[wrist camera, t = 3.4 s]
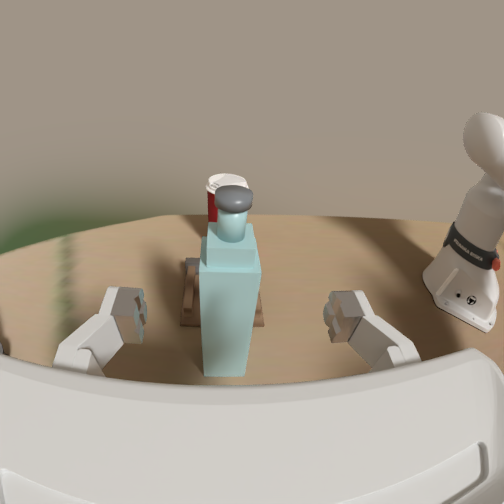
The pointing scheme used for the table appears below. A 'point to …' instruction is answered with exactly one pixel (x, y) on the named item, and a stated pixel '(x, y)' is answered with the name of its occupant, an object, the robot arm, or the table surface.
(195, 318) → the brown square frame
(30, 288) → the table surface
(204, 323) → the bottle
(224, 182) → the paper cup
